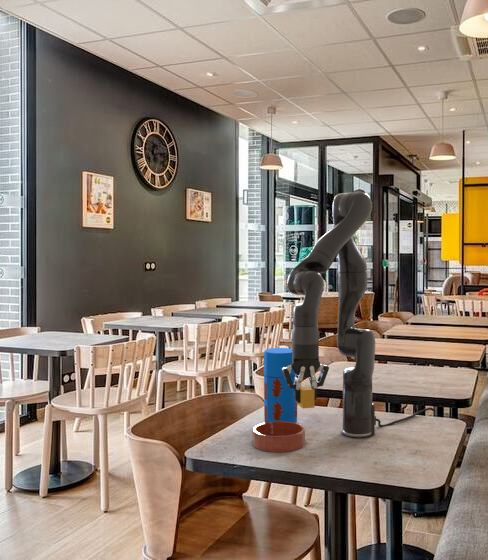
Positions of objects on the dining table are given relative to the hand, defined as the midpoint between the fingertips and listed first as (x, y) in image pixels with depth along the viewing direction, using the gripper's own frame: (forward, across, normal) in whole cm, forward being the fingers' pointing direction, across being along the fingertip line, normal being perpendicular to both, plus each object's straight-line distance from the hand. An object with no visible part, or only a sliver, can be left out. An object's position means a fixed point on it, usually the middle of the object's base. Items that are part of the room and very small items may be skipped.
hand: (305, 401), depth 170 cm
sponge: (+1, 0, 0) cm, 1 cm away
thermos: (+15, 0, +28) cm, 32 cm away
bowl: (+15, -5, +11) cm, 20 cm away
